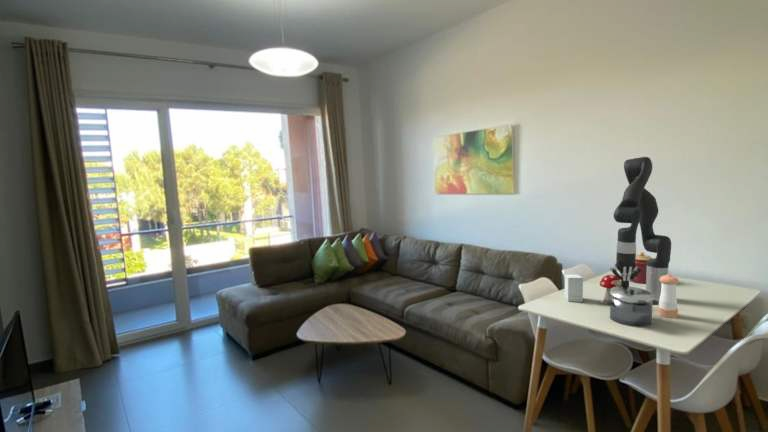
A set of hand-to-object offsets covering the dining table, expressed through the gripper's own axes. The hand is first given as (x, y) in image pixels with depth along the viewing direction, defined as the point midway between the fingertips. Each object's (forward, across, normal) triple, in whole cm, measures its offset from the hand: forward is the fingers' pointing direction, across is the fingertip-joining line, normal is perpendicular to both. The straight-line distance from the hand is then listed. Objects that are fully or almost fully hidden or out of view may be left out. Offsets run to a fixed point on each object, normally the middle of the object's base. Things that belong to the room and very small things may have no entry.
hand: (624, 288), depth 183 cm
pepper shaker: (+13, -19, 0) cm, 23 cm away
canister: (+15, -37, -59) cm, 72 cm away
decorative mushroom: (+14, -1, -16) cm, 21 cm away
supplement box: (+14, +14, -24) cm, 31 cm away
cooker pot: (+13, 0, +7) cm, 15 cm away
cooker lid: (+2, 0, +3) cm, 3 cm away
